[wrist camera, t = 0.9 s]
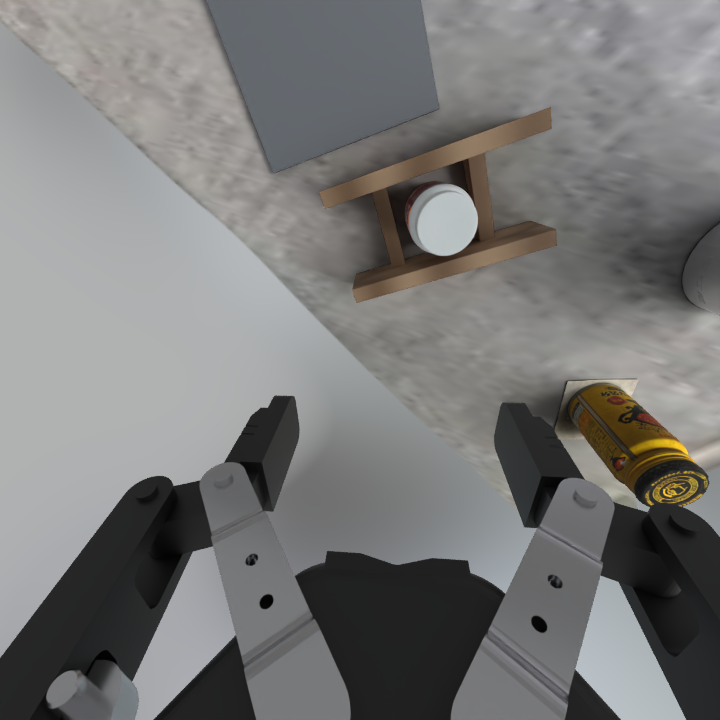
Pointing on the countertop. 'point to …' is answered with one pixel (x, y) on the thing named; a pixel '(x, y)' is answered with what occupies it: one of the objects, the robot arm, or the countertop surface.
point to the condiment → (630, 442)
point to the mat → (326, 70)
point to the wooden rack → (472, 151)
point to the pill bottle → (441, 218)
